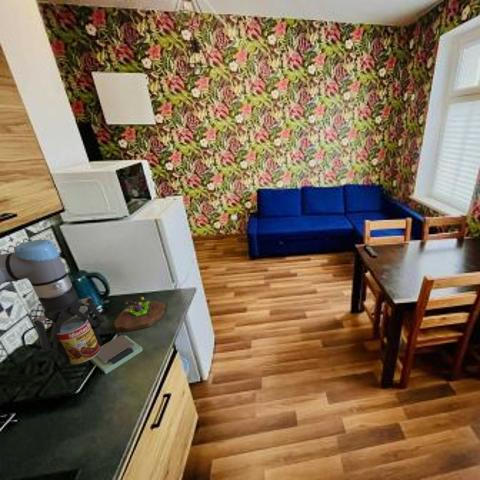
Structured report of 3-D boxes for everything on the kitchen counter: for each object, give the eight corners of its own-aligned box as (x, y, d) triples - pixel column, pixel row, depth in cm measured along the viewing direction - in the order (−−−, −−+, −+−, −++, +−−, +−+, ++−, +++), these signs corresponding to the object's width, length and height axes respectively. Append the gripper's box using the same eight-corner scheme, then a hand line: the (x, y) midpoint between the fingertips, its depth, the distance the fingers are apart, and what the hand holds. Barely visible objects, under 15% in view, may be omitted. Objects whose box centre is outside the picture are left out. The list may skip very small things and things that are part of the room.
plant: (155, 329, 120) (149, 308, 116) (108, 334, 117) (99, 313, 113) (171, 302, 138) (166, 284, 134) (130, 306, 135) (124, 287, 131)
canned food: (90, 362, 83) (76, 332, 78) (62, 365, 82) (46, 335, 77) (105, 343, 90) (93, 315, 86) (80, 346, 89) (66, 317, 85)
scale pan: (92, 352, 103) (91, 351, 102) (122, 336, 111) (121, 334, 111) (104, 363, 98) (104, 362, 98) (134, 345, 106) (134, 344, 106)
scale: (91, 361, 103) (86, 352, 102) (127, 340, 114) (124, 332, 112) (106, 376, 97) (102, 367, 95) (143, 352, 107) (140, 343, 106)
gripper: (7, 316, 67) (44, 380, 76) (103, 279, 83) (124, 336, 92) (0, 306, 71) (36, 368, 80) (93, 273, 87) (114, 328, 96)
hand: (83, 351), depth 86 cm, fingers closed on canned food, 8 cm apart
